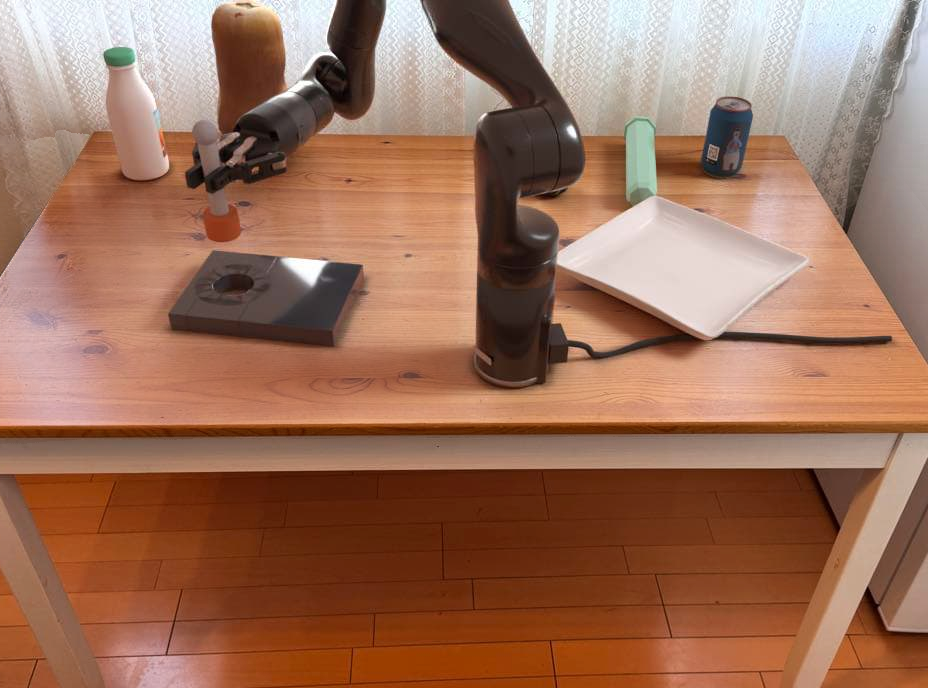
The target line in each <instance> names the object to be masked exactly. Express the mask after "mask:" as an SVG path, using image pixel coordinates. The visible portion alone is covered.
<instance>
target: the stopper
mask: <svg viewBox="0 0 928 688" xmlns="http://www.w3.org/2000/svg"><path fill="white" fill-rule="evenodd" d="M191 135H192V138H193V139H194V141H195V143H196V142H197V143H198V148H199V153H200V158H201V163H202V168H203V173H204V178H205V176H207V175H208V174H209V173H211V172H212V171H214V170H215V169H217V168H218V167H220V166H221V165H220V159H219V153H218V148H217V142H216V140H218V138H219V129H218V128H217V126H216V124H215V123H213V122H212V121H211V120H207V119H201V120H198V121H196V122H195V123H194V125H193V126H192V129H191ZM225 187H226V186H225ZM225 187H224V188H223V189H221V190H219V191H217V192H215V193H214V194H211V193H207V192H206V193H207V198H208V204H209V206H207V207H206V208H205V209H204V210H203V211H202V220H203V225H204V228H205V229H204V230H205V233H206V234H205V235H206V238H207V239H208V240H210V241H211V242H214V243H228V242H232V241H234V240H237V239H238V238H240V236H241V234H242V227H241V222H240V215H239V209H238V207H236V206H235V205H233V204H229V203H228V199H227V193H226V188H225Z"/></svg>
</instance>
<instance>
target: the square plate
mask: <svg viewBox="0 0 928 688" xmlns="http://www.w3.org/2000/svg"><path fill="white" fill-rule="evenodd" d="M811 262H812V260H811V259H810V258H809V257H808V256H806V255H804V254H803V253H799V252H797V251H794V250H792V249H790V248H787V247H785V246H783V245H781V244H778V243H776V242H773V241H772V240H769V239H766V238H764V237H761V236H759V235H757V234H754V233H752V232H750V231H748V230H745V229H743V228H740V227H738V226H735V225H733V224H731V223H728V222H726V221H723V220H721V219H719V218H716V217H714V216H712V215H709V214H707V213H703V212H701V211H698V210H696V209H693V208H691V207H688V206H685V205H682V204H680V203H677V202H675V201H671V200H669V199H666V198H664V197H661V196H658V195H656V196H651V197H649V198H647V199H646V200H644V201H642V202H640V203H639V204H637V205H635V206H634V207H633V206H631V207H630V208H628V209H627V210H625V211H623V212H622V213H620V214H618V215H617V216H614V217H613V218H611V219H610V220H608V221H606V222H605V223H603V224H601V225H600V226H598V227H596V228H595V229H593V230H592V231H589V232H587V233H586V234H585V235H583V236H581V237H580V238H578V239H577V240H575V241H572V243H570V244H568V245H567V246H565V247H564V248H562V249H560V250H558V257H557V268H556V269H558V270H560V272H562V273H564V274H566V275H568V276H570V277H571V278H573V279H575V280H578V281H579V282H582V283H584V284H586V285H588V286H590V287H593V288H595V289H597V290H599V291H602V292H604V293H606V294H608V295H611V296H613V297H614V298H617V299H618V300H621V301H623V302H625V303H627V304H629V305H632V306H633V307H635V308H638V309H640V310H642V311H643V312H646V313H647V314H650V315H651V316H654V317H655V318H658V319H660V320H661V321H663V322H665V323H667V324H669V325H671V326H672V327H674V328H676V329H678V330H679V331H680V330H681V331H683V332H684V333H685V334H686V333H688V334H690V335H693V336H695V337H697V338H700V340H702V341H711V340H713V339H717V338H716V337H718V336H719V335H721V334H722V333H723V332H727V330H728V329H730V328H731V327H732V326H733V325H734V324H735V323H737V321H738V320H739V319H740V318H742V317H743V316H744V315H745V314H746V313H747V312H748V311H749V310H751V309H752V308H754V306H755V305H757V303H759V302H760V301H761V300H762V299H764V298H765V297H766V296H767V295H770V293H772V292H773V291H774V290H776V289H777V288H779V287H780V286H782V285H784V284H785V283H786V282H787V281H789V280H790V279H791V278H793V277H794V276H795V275H796V274H798V273H799V272H801V271H802V270H803V269H805V268H806V267H808V266H809V265H810V264H811Z"/></svg>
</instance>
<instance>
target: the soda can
mask: <svg viewBox="0 0 928 688" xmlns="http://www.w3.org/2000/svg"><path fill="white" fill-rule="evenodd" d="M752 106H753V105H752V103H751V101H749V100H748V99H745V98H743V97H739V96H721V97H719V98H717V99H716V101H715V104H714V105H713V107H712V108H711V109H710V111H709V112H710V113H709V117H708V123H707V126H706V127H707V128H706V132H705V137H704V143H703V148H702V153H701V158H700V164H701V167H702V170H703V172H704V173H705V174H706V175H708V176H710V177H712V178H716V179H730V178H733V177H735V176H736V175H738V173H739V172H740V171H741V170H742V167H743V163H744V159H745V154H746V150H747V146H748V141H749V137H750V132H751V129H752V123H753V118H754V113H753V109H752Z"/></svg>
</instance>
